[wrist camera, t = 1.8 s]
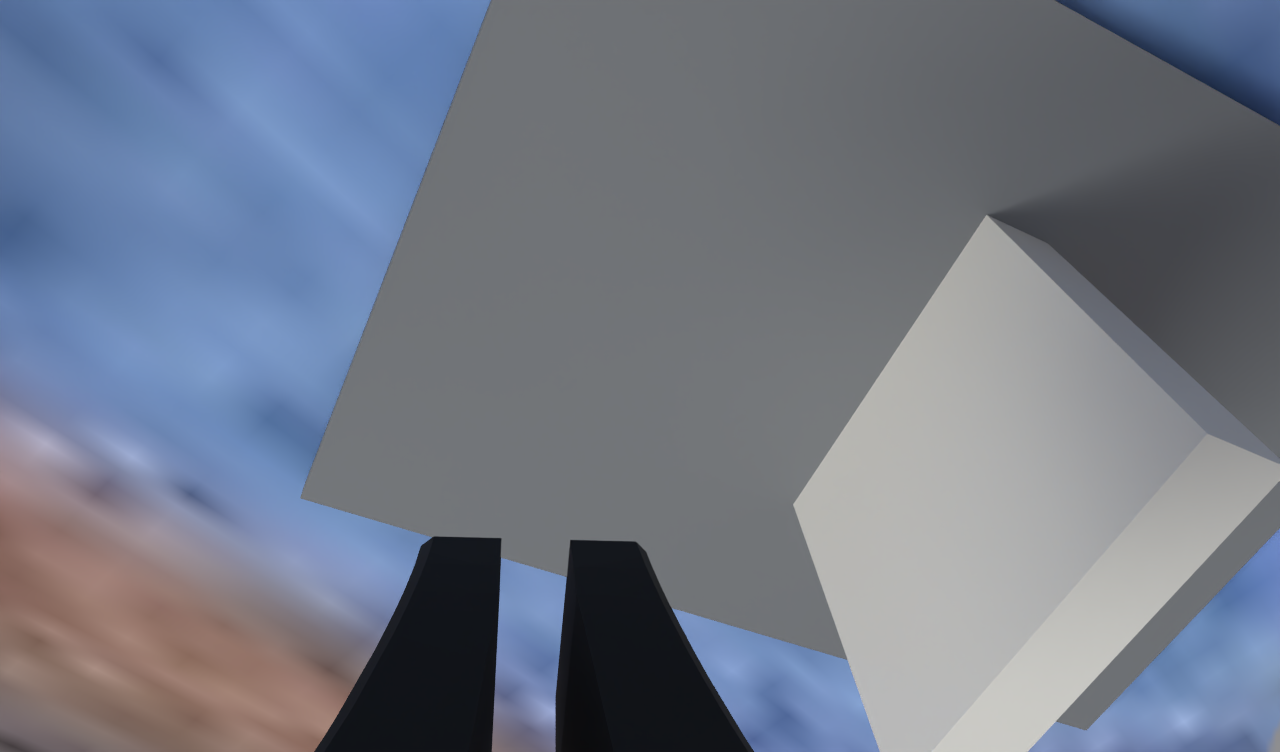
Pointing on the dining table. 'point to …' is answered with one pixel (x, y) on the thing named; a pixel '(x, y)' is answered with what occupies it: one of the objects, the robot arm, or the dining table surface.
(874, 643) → the tile
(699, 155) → the mat
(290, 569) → the dining table surface
